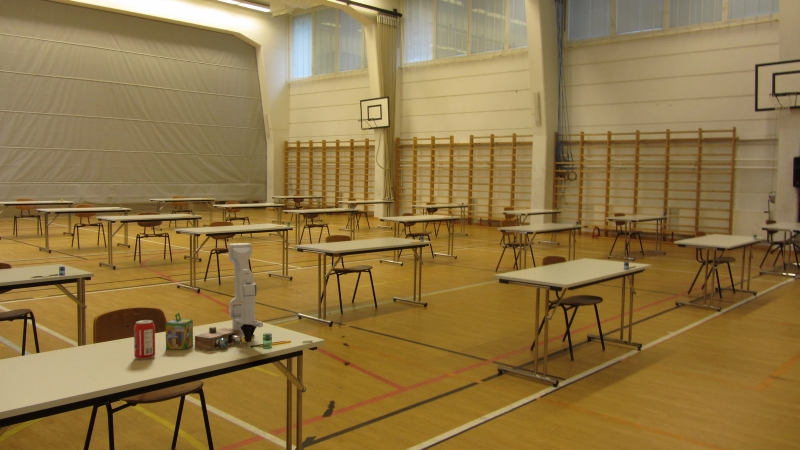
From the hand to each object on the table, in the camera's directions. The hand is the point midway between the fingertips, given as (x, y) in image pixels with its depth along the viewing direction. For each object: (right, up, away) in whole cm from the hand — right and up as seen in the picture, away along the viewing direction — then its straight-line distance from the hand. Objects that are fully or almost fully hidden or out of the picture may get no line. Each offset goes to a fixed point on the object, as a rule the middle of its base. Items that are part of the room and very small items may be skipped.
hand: (248, 341), depth 267 cm
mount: (-15, -2, +3) cm, 15 cm away
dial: (-17, +3, +4) cm, 18 cm away
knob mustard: (-6, -1, +3) cm, 7 cm away
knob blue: (-14, -2, -1) cm, 14 cm away
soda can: (-38, -3, -18) cm, 42 cm away
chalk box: (-30, -2, -1) cm, 30 cm away
